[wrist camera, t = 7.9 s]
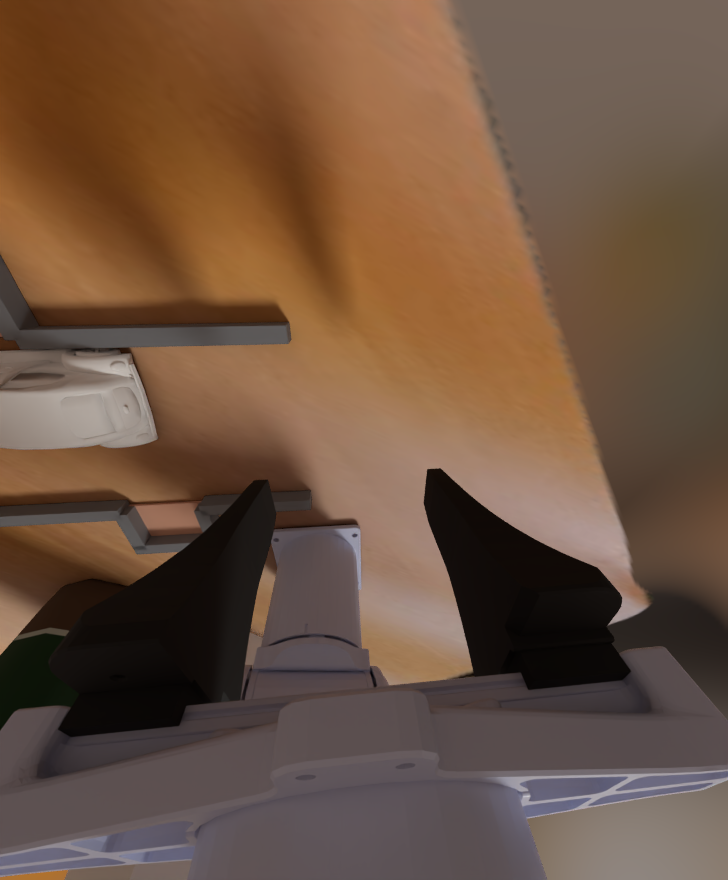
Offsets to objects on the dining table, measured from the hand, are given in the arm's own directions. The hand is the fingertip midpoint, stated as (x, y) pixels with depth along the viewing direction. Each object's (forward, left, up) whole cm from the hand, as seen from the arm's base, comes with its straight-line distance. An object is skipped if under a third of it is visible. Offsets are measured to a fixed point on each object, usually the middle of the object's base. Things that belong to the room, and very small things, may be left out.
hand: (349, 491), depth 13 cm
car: (+2, +18, -9) cm, 21 cm away
